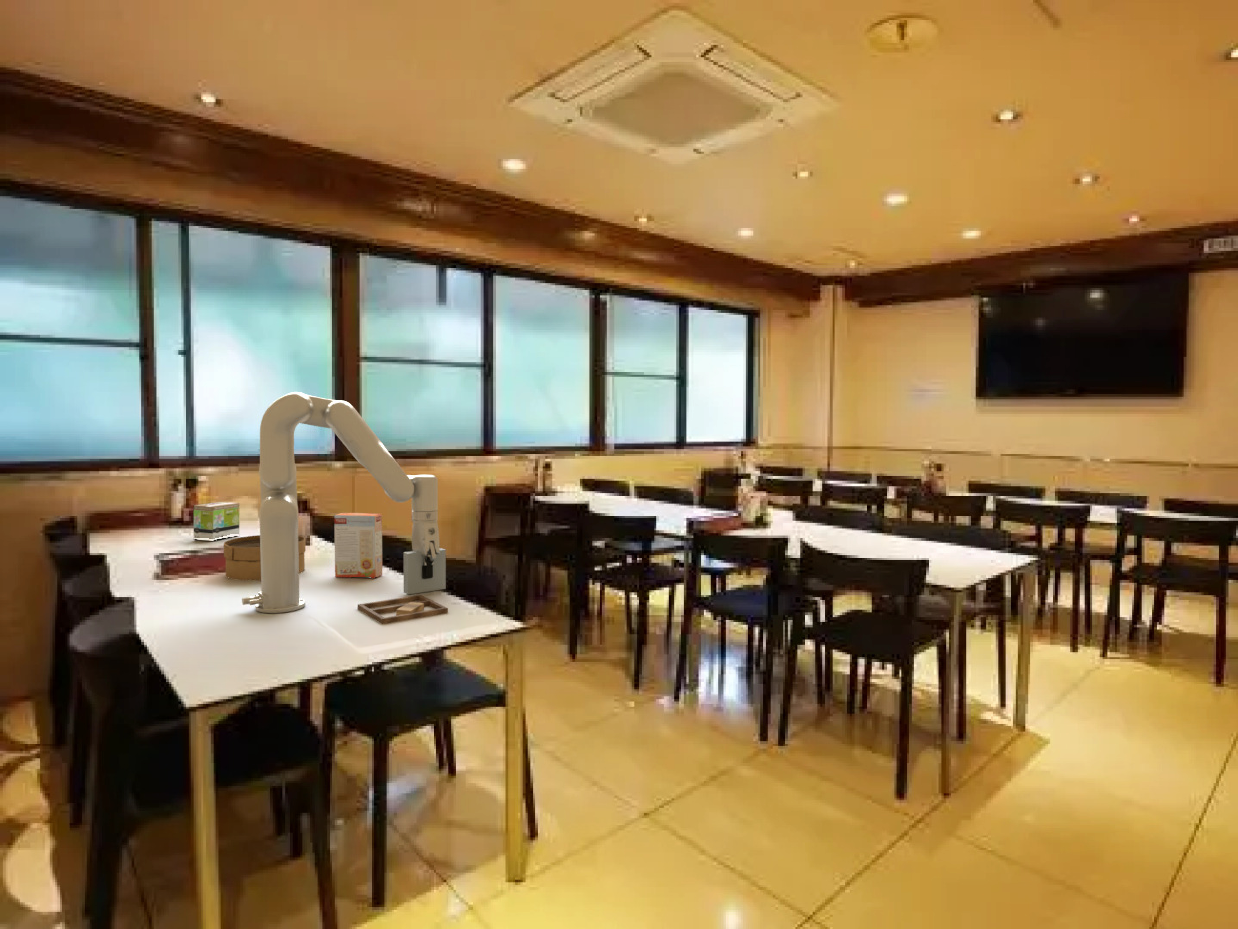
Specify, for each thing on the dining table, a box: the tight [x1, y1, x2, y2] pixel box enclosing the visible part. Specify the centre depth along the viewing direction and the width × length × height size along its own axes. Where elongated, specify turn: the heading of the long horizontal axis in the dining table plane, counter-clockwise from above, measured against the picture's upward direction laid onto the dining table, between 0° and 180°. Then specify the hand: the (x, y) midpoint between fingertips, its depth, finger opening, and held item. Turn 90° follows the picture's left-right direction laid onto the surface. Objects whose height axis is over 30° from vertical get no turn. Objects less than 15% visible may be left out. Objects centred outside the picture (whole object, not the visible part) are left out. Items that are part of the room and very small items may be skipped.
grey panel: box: [403, 547, 447, 595], centre depth 219 cm, size 12×3×12 cm, turn 129°
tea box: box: [193, 501, 240, 539], centre depth 308 cm, size 15×10×15 cm, turn 167°
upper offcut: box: [395, 601, 425, 616], centre depth 196 cm, size 8×4×2 cm, turn 170°
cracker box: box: [333, 512, 383, 579], centre depth 242 cm, size 14×6×21 cm, turn 84°
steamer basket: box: [223, 534, 307, 581], centre depth 247 cm, size 25×25×11 cm
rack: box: [357, 594, 449, 625], centre depth 198 cm, size 18×18×2 cm
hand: (424, 576), depth 219 cm, fingers closed on grey panel, 3 cm apart
